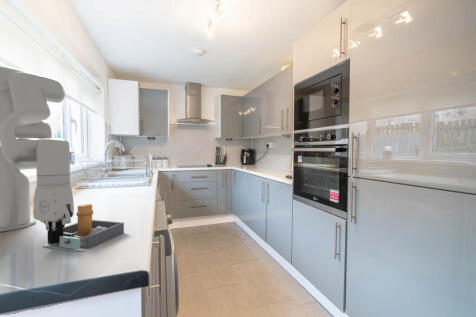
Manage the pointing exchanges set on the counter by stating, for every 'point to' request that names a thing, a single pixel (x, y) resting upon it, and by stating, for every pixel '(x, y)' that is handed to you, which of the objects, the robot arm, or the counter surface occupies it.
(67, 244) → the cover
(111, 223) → the tray
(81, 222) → the peg
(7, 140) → the robot arm
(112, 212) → the counter surface
